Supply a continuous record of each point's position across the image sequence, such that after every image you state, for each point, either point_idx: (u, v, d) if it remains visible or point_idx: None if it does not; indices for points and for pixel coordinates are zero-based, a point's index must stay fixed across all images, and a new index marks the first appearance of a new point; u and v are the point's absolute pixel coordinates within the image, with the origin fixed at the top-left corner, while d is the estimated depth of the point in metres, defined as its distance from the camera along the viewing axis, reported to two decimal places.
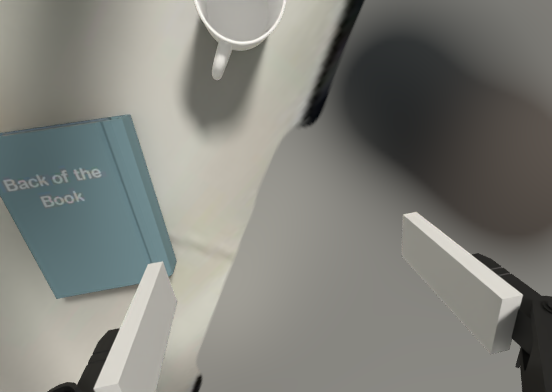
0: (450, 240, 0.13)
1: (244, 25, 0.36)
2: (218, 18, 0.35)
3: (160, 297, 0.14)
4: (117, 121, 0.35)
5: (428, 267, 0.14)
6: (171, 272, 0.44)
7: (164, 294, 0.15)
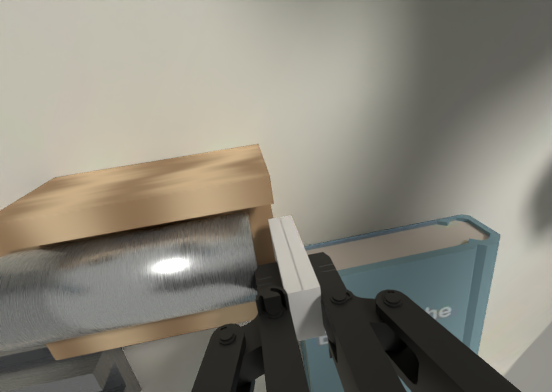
0: (299, 240, 0.15)
1: None
2: None
3: None
4: (498, 241, 0.23)
5: None
6: None
7: None
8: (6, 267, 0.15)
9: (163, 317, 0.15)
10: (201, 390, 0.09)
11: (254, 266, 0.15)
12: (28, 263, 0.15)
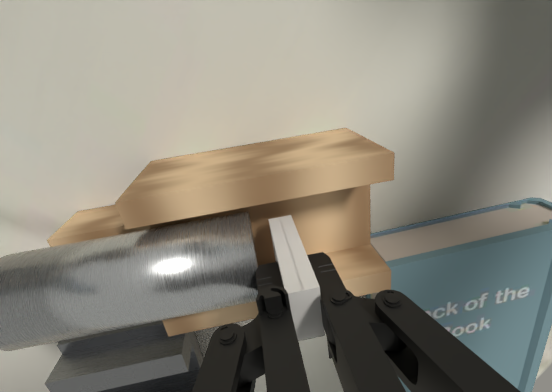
0: (299, 240, 0.15)
1: None
2: None
3: None
4: None
5: None
6: None
7: None
8: (7, 267, 0.15)
9: (164, 317, 0.15)
10: (202, 390, 0.09)
11: (255, 266, 0.15)
12: (29, 263, 0.15)
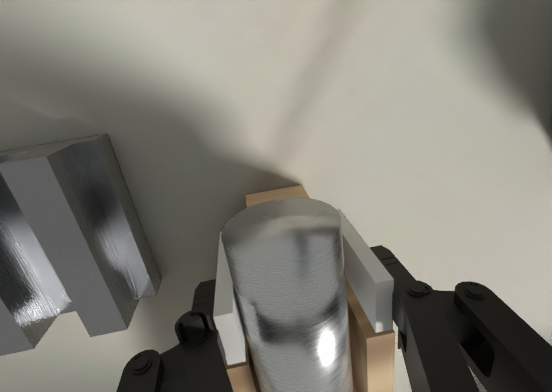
0: (356, 233, 0.15)
1: None
2: None
3: None
4: None
5: None
6: None
7: None
8: (342, 241, 0.12)
9: None
10: None
11: None
12: None
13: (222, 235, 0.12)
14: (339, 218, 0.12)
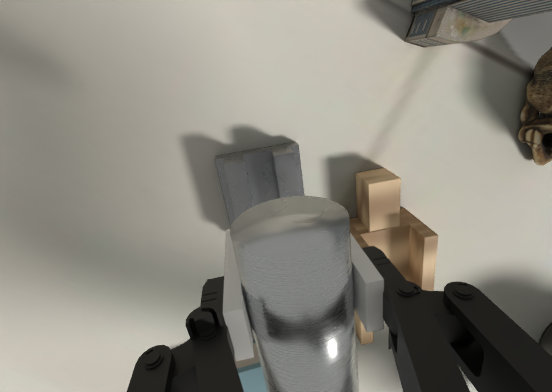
0: None
1: None
2: None
3: None
4: None
5: None
6: None
7: None
8: None
9: None
10: None
11: None
12: (351, 257, 0.13)
13: (231, 234, 0.12)
14: (347, 214, 0.12)
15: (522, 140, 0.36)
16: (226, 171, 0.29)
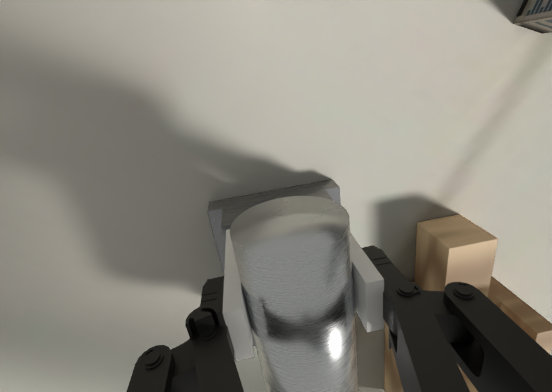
0: None
1: None
2: None
3: None
4: None
5: None
6: None
7: None
8: None
9: None
10: None
11: None
12: None
13: (231, 234, 0.12)
14: (346, 213, 0.12)
15: None
16: (225, 236, 0.18)
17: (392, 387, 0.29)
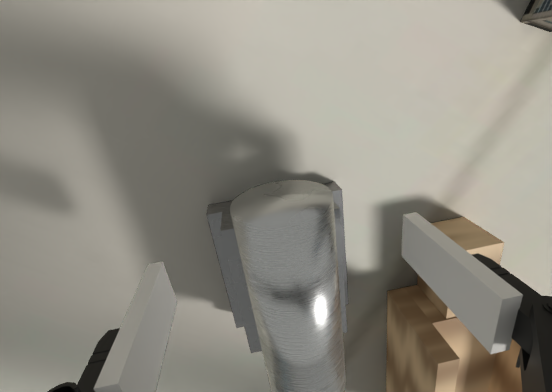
0: (450, 240, 0.13)
1: None
2: None
3: (160, 297, 0.14)
4: None
5: (428, 267, 0.14)
6: None
7: (164, 294, 0.15)
8: None
9: (285, 356, 0.16)
10: None
11: None
12: (335, 231, 0.15)
13: (231, 211, 0.14)
14: (331, 193, 0.14)
15: None
16: (225, 241, 0.17)
17: None
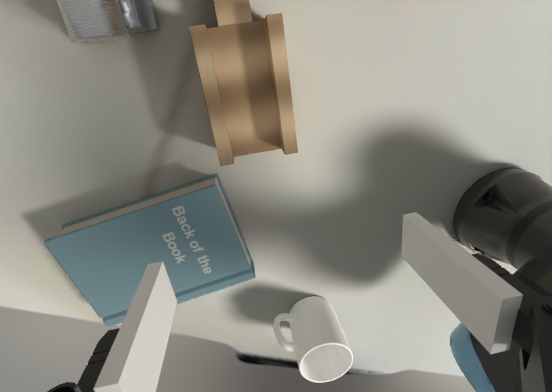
0: (450, 240, 0.13)
1: None
2: None
3: (160, 297, 0.14)
4: (253, 277, 0.44)
5: (428, 267, 0.14)
6: None
7: (164, 294, 0.15)
8: None
9: None
10: None
11: (102, 34, 0.27)
12: None
13: None
14: None
15: None
16: None
17: None
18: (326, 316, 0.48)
